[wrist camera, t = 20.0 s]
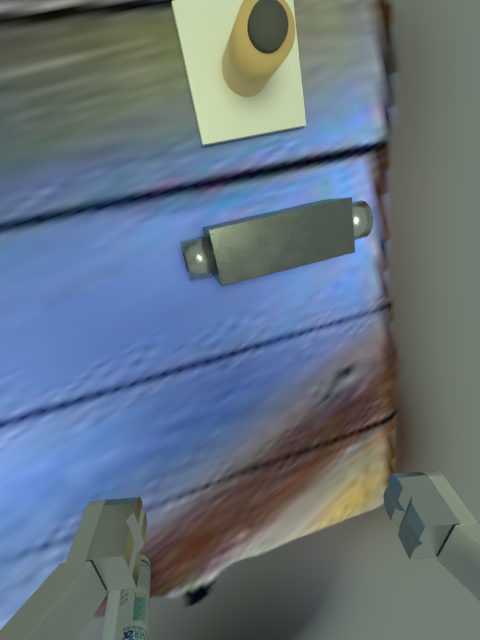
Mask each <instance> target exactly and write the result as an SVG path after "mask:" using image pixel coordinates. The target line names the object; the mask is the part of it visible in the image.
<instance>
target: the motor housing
mask: <svg viewBox="0 0 480 640" xmlns="http://www.w3.org/2000/svg"><path fill="white" fill-rule="evenodd" d="M372 225H373V216H372V212H371V209H370V207H369V205H368V204H367V203H366V202H365V201H356V202H352V197H351V198H339V199H328V200H322V201H317V202H313V203H309V204H304V205H300V206H296V207H291V208H287V209H282V210H278V211H274V212H269V213H265V214H260V215H256V216H252V217H247V218H243V219H238V220H234V221H230V222H225V223H221V224H216V225H212V226H208V227H203V231H204V235H205V237H201V238H197V239H192V240H188V241H184V242H181V245H182V249H183V251H182V252H183V256H184V260H185V263H186V267H187V270H188V272H189V275H190V278H191V281H192V280H196V279H200V278H204V277H208V276H212V275H214V276H215V278H216V279H217V280H218V282H219V283H220V284H221V286H225V285H229V284H233V283H236V282H240V281H244V280H248V279H252V278H256V277H260V276H264V275H268V274H271V273H275V272H279V271H283V270H287V269H291V268H295V267H299V266H303V265H307V264H310V263H314V262H318V261H322V260H326V259H330V258H334V257H338V256H342V255H346V254H349V253H353V252H355V245H354V240H356V239H360V238H364V237H367V236H368V235H369V234H370V232H371V230H372Z"/></svg>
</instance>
